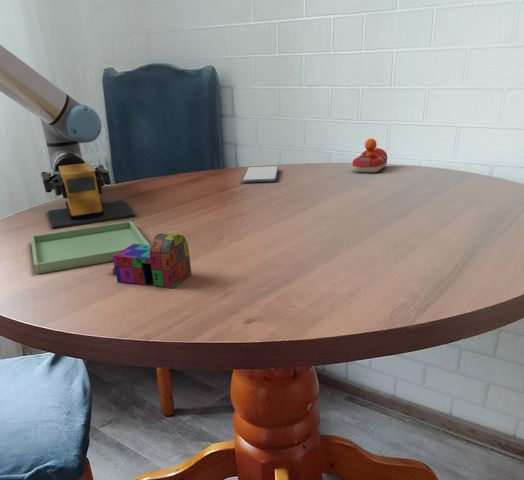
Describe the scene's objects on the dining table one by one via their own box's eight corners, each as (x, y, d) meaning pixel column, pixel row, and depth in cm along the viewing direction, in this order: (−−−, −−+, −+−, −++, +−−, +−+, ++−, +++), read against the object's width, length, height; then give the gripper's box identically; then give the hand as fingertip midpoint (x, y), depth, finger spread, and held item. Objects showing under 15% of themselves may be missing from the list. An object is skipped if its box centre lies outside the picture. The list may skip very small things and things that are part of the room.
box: (36, 274, 84) (33, 264, 83) (32, 244, 98) (30, 235, 97) (151, 254, 89) (150, 245, 89) (132, 228, 103) (131, 220, 103)
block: (199, 268, 82) (194, 224, 79) (172, 288, 76) (166, 241, 72) (132, 261, 86) (125, 219, 83) (102, 280, 80) (93, 235, 77)
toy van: (71, 221, 108) (61, 175, 103) (66, 209, 117) (56, 166, 113) (105, 216, 110) (96, 171, 105) (97, 204, 119) (89, 162, 115)
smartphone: (242, 179, 133) (247, 166, 146) (242, 183, 134) (248, 170, 146) (275, 178, 132) (278, 165, 145) (275, 182, 133) (278, 169, 146)
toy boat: (389, 165, 144) (391, 135, 140) (378, 174, 135) (380, 142, 131) (361, 164, 147) (363, 135, 143) (349, 173, 138) (350, 141, 134)
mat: (53, 228, 106) (52, 226, 106) (48, 212, 117) (48, 210, 117) (134, 216, 111) (133, 214, 111) (122, 202, 122) (122, 200, 122)
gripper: (115, 181, 130) (132, 201, 111) (32, 192, 124) (36, 215, 105) (109, 148, 126) (126, 163, 108) (23, 158, 121) (25, 175, 102)
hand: (81, 188), depth 107 cm, fingers closed on toy van, 6 cm apart
